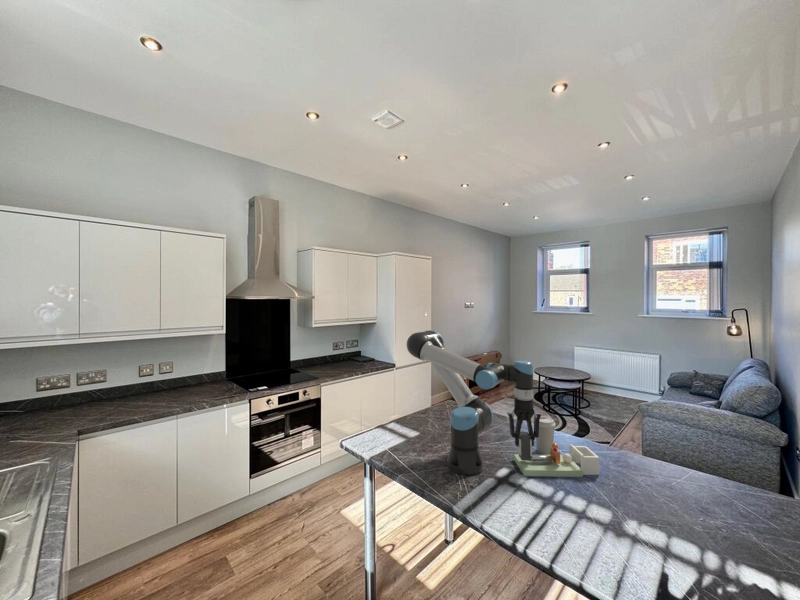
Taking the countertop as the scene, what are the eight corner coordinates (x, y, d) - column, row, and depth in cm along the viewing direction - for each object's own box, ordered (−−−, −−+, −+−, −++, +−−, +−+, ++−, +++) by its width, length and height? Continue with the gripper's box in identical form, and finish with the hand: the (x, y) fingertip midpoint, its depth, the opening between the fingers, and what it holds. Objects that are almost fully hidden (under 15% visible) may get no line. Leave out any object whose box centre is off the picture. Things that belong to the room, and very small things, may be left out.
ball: (564, 464, 129) (564, 455, 129) (560, 460, 133) (560, 451, 133) (573, 464, 129) (573, 455, 129) (569, 460, 133) (569, 451, 133)
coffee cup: (551, 447, 150) (550, 415, 150) (559, 457, 140) (559, 423, 141) (530, 446, 151) (530, 415, 151) (537, 456, 141) (537, 423, 141)
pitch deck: (524, 476, 126) (524, 470, 126) (514, 459, 139) (513, 454, 139) (582, 476, 125) (582, 470, 125) (567, 460, 138) (567, 454, 138)
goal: (581, 474, 126) (581, 455, 126) (570, 462, 136) (569, 444, 136) (599, 474, 126) (598, 455, 126) (586, 462, 135) (585, 444, 135)
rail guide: (532, 463, 130) (532, 461, 130) (529, 458, 134) (529, 456, 134) (552, 464, 129) (552, 461, 129) (548, 458, 134) (548, 456, 134)
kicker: (522, 463, 129) (522, 436, 129) (518, 456, 135) (517, 430, 135) (561, 464, 129) (560, 436, 129) (555, 457, 134) (554, 430, 134)
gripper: (506, 400, 129) (507, 457, 129) (547, 400, 128) (548, 458, 128) (501, 395, 136) (502, 449, 136) (540, 395, 135) (541, 449, 135)
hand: (524, 453), depth 132 cm, fingers closed on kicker, 4 cm apart
